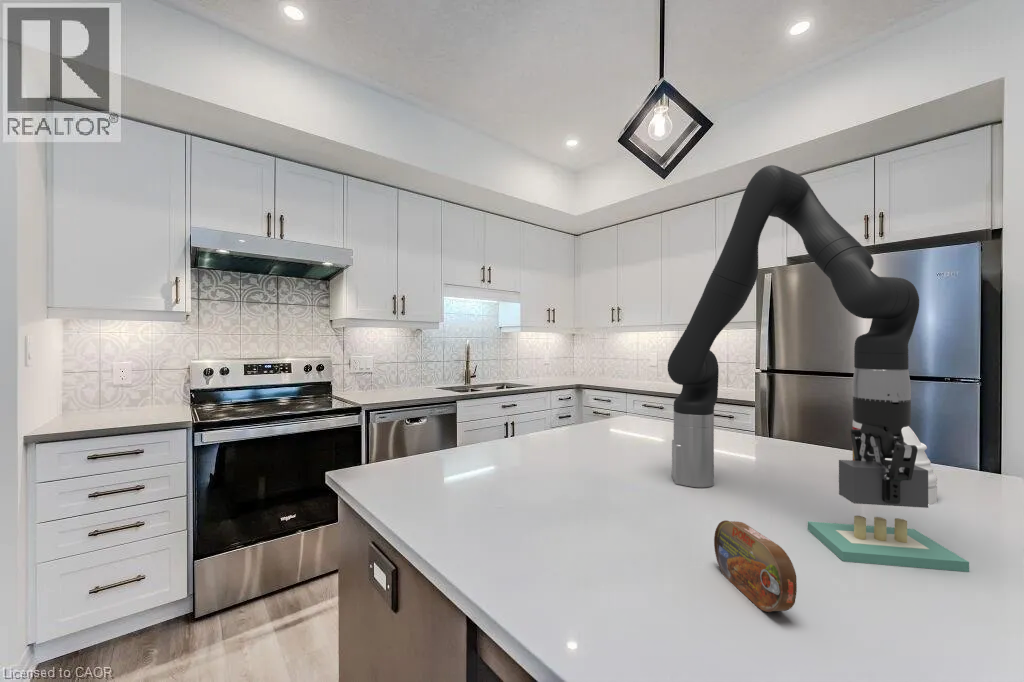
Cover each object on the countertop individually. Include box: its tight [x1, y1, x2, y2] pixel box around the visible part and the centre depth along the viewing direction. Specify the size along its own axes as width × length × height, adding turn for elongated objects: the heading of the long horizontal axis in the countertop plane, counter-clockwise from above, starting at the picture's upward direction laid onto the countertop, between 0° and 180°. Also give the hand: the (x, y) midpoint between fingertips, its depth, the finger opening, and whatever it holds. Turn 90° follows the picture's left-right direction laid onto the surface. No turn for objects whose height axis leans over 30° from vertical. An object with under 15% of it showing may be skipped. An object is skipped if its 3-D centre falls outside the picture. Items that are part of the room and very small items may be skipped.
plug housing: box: [838, 459, 929, 509], centre depth 75 cm, size 11×5×6 cm, turn 79°
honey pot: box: [885, 426, 938, 505], centre depth 101 cm, size 13×13×18 cm
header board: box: [807, 515, 970, 573], centre depth 75 cm, size 17×12×5 cm
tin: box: [713, 520, 798, 613], centre depth 62 cm, size 15×3×8 cm, turn 5°
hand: (881, 497), depth 75 cm, fingers closed on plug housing, 4 cm apart
